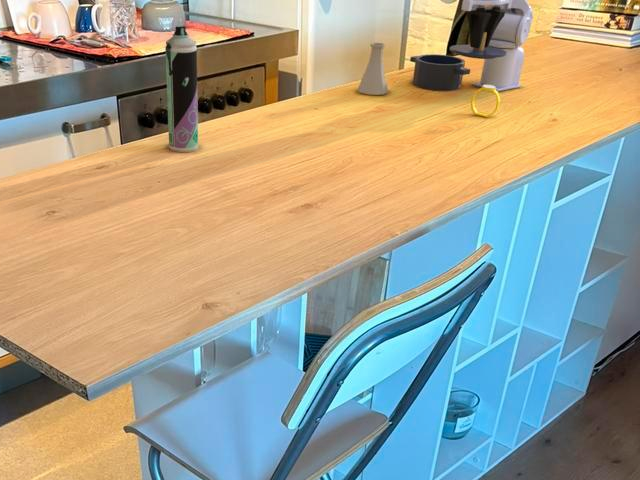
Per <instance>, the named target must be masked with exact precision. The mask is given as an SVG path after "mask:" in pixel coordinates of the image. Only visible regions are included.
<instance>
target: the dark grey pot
mask: <svg viewBox="0 0 640 480" xmlns="http://www.w3.org/2000/svg"><path fill="white" fill-rule="evenodd" d="M409 61H410V63H414V67H413V68H414V69H413V76H412V85H413V86H415V87H416V88H419V89H424V90H428V91H437V92H438V91H439V92H447V91H448V92H449V91H455V90H459V89H461V86H462V83H463V77H464V76H466V75H470V74H471V69H470V68H467V67H465V65H466V61H465V60H464V59H462V58H461V57H457V56H454V55H446V54H435V53H433V54H421V55H415V56H410V59H409Z"/></svg>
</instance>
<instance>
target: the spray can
mask: <svg viewBox="0 0 640 480" xmlns="http://www.w3.org/2000/svg"><path fill="white" fill-rule="evenodd" d="M164 48H165V74H166V96H167V97H166V99H167V101H166V102H167V124H168V126H167V127H168V128H167V129H168V147H169V150H171V151H173V152H176V153H191V152H195V151H197V150H199V113H198V112H199V109H198V108H199V106H198V105H199V104H198V47H197V41H196V40H194V39H192V38H191V37H190V34H189V33H188V32H187V29H186V25H182V26H175V31H174V33H172V36H171V37H170V38H169V39H168V40H166V41H165V47H164Z"/></svg>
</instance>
